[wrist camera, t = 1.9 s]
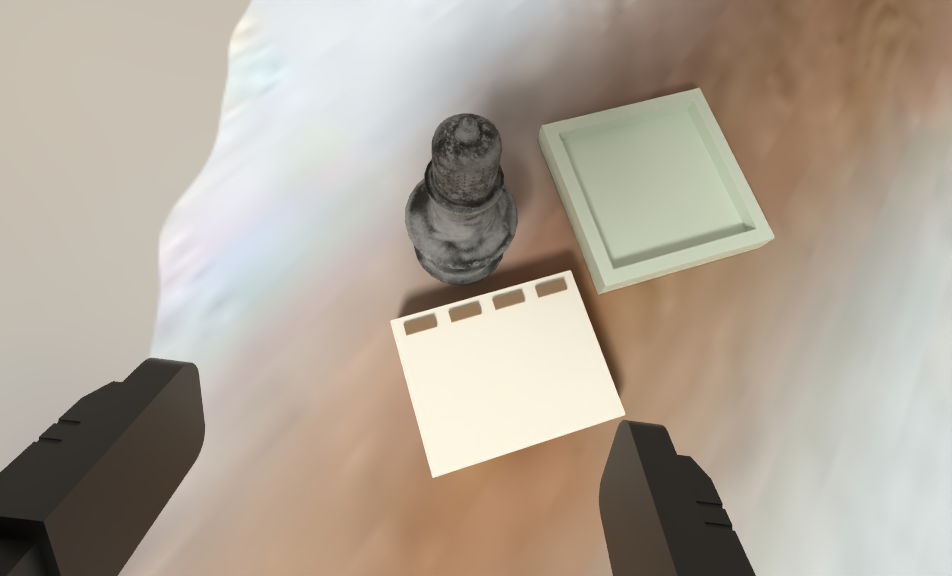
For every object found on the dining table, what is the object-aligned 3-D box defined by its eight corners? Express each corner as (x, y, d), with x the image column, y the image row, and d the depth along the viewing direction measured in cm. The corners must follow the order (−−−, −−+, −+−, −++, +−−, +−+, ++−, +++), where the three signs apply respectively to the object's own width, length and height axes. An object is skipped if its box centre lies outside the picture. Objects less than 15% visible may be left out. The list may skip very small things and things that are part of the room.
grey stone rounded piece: (517, 283, 31) (560, 179, 20) (414, 296, 31) (398, 196, 19) (501, 191, 33) (531, 48, 22) (403, 201, 32) (382, 59, 21)
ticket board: (562, 281, 31) (571, 268, 29) (613, 417, 29) (626, 414, 27) (393, 329, 30) (389, 319, 28) (433, 476, 28) (432, 477, 26)
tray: (689, 102, 36) (699, 87, 34) (760, 247, 33) (775, 237, 31) (537, 139, 34) (541, 125, 33) (598, 294, 31) (605, 286, 30)
